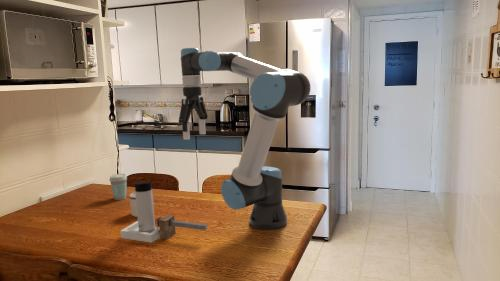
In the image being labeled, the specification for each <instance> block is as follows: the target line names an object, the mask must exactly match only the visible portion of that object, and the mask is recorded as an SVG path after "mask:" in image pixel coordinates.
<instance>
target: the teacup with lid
mask: <svg viewBox="0 0 500 281" xmlns="http://www.w3.org/2000/svg"><path fill="white" fill-rule="evenodd" d="M128 197H129V202H130V203H129V206H130V214H131V216H133V217H136V218H138V216H137V205H136V194H135V191H134V192H132V193H130V194H129V196H128Z"/></svg>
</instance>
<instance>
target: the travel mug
mask: <svg viewBox="0 0 500 281" xmlns="http://www.w3.org/2000/svg"><path fill="white" fill-rule="evenodd" d="M134 192H135V194H136V205H137V216H138V217H137V221H138V227H139V231H140V232H147V233H151V232H152V231H154V230H155V220H154V219H155V209H154V196H153V188H152V181H144V182H143V181H142V182H140V181H139V182H135V183H134Z"/></svg>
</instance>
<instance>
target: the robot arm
mask: <svg viewBox="0 0 500 281" xmlns="http://www.w3.org/2000/svg"><path fill="white" fill-rule="evenodd" d="M180 64H181V65H180V66H181V76H182V79H181V80H182V86H183V87H182V92H183V94H182V95H183V96H184V97H185V98H181V107H180V111H179V112H180V113H179V117H178V123H179V125H181V124H182V125H181V127H182V138H183V139H182V140H187V141H188V140H191V134H190V132H191V131H190V123H189V120H190V117H191V115H192V111H193V110H195V112H196V114H197V116H198V118H199V119H198V130H199V132H198V133H199V135H207V134H206V133H207V130H206V120H208V116H209V115H208V112H207V108H206V106H205V103H204V97H203V96H201V95H202V87H201V86H202V81H201V78H202V77H201V72H216V71H217V72H219V71H221V72H222V71H224V72H226V71H228V72H230V73H233V74H236V75H239V76H241V77H243V78H244V77H245V78H246V79H248V80H250V81H252V83H251V85H250V88H249V95H250V101H251V103H252V109H253V111H254V115H253V118H252V121H251V125H250V126H249V127H250V128H249V131H248V134H247V137H246V140H245V144H244V146H243V147H244V148H243V150H242V154H241V157H240V160H239V163H238V166H236V167H234V168H233V169H232V171H231V174H230V178H229V179H228V178H227V179H225V180H224V181H222V184H221V185H220V186H221V187H220V191H221V196H222V199H223V201H224V203H225V204H226V205H227V206H228V207H229V208H230V209H232V210H235V211H236V210H241V209H244V208H247V207H250V206H252V205H253V206H252V209H251V213H250V216H249V224H250V225H251V227H253V228H257V229H261V230H276V229H280V228H283V227H284V226H286V225H287V223H288V216H287V214H286V210H285V208H284V205H283V177H282V171H281V169H280V168H278V167H274V166H265V165H264V164H265V162H266V159H267V156H268V153H269V150H270V147H271V144H272V142H273V139H274V136H275V133H276V130H277V127H278V126H279V125H278V124H279V122H280V120H283V119H285V118H286V115H287V113H288V110H289V107H295V106H298V105H301V104H303V103H304V102H306V100H307V99H308V97H309V96H310V92H311V82H310V79H309V78H308V77H307V76H306V75H305V74H303V73H302V72H300V71H296V70H292V69H290V68H285V69H281V68H278V67H275V66H273V65H270V64H266V63H263V62H261V61H257V60H255V59H252V58H249V57H245V56H244V55H243V54H242V53H241V52H238V51H237V52H236V51H214V50H206V51H200V50H199V48H197V47H185V48H182V49H181V50H180Z"/></svg>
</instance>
